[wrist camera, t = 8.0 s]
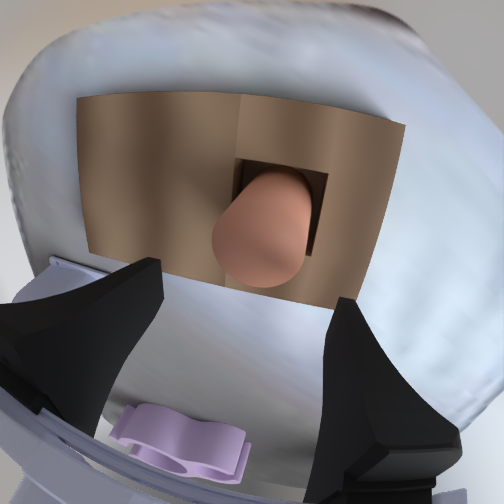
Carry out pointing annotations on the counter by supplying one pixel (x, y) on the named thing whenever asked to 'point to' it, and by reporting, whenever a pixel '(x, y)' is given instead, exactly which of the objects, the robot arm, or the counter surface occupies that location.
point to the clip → (183, 443)
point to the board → (232, 181)
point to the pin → (265, 228)
